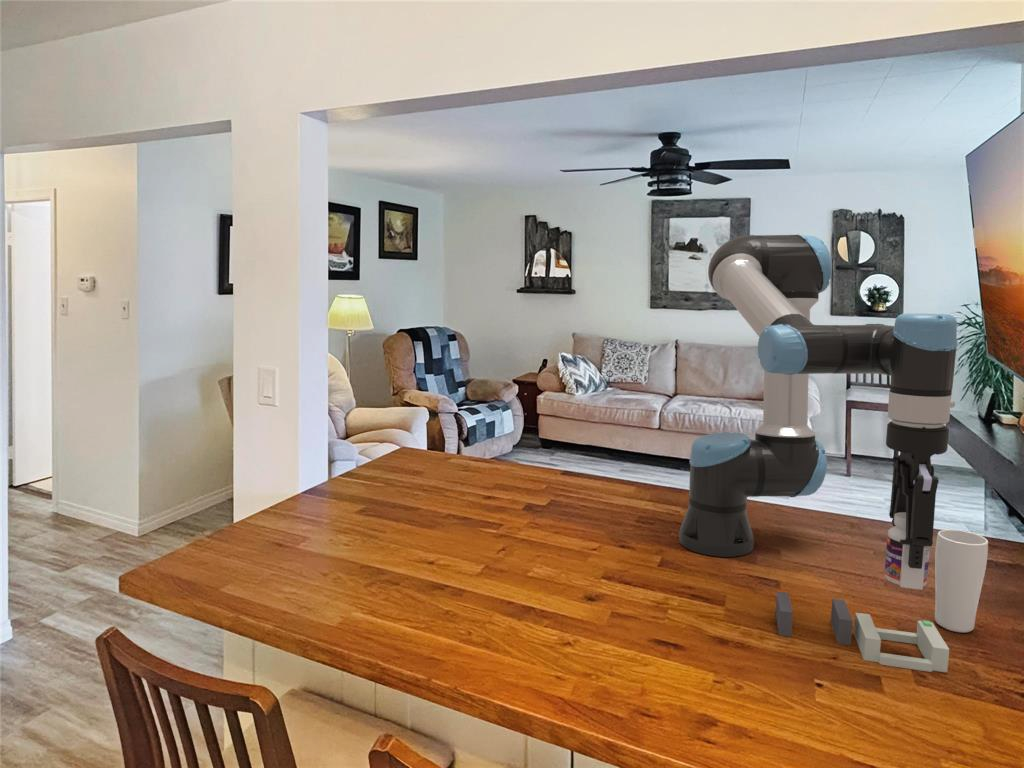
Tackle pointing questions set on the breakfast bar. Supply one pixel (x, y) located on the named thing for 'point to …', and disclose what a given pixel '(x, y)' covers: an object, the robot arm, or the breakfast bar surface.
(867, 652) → the port
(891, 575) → the pill bottle
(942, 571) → the drinking glass
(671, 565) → the breakfast bar surface
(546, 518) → the breakfast bar surface
